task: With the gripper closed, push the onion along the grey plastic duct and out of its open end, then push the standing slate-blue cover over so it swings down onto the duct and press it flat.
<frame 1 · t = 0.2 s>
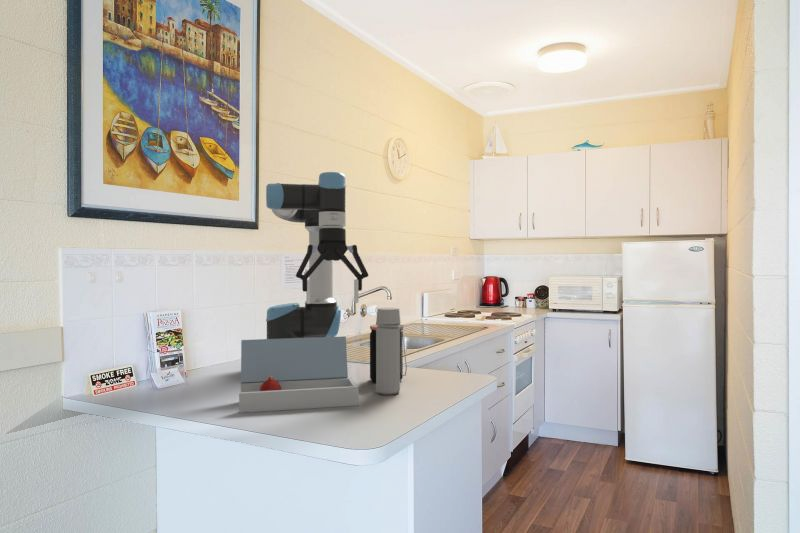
hand: (332, 303, 157), 27 cm above the countertop, fingers open, 13 cm apart
water bottle: (391, 393, 166), on the countertop
onion: (270, 405, 151), resting in duct
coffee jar: (386, 381, 182), on the countertop
duct: (296, 403, 153), on the countertop
duct cover: (295, 360, 161), point 10 cm above the countertop, hinge at -20.0°
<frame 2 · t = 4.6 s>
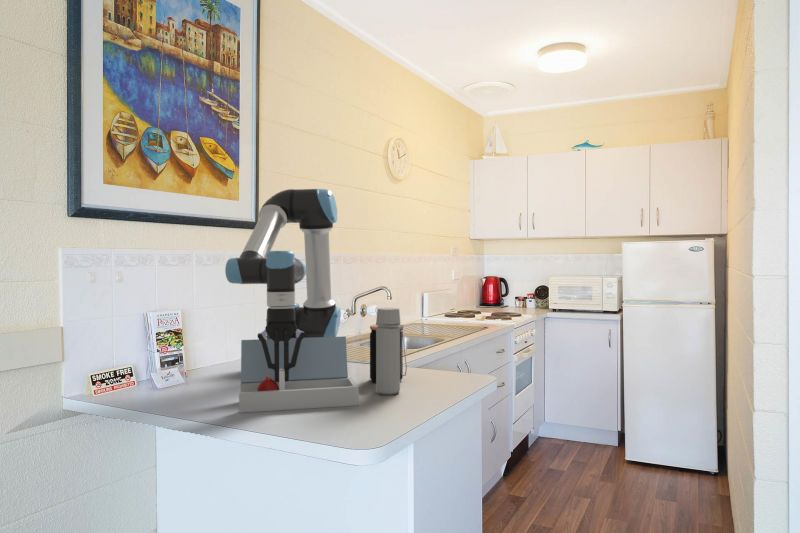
hand: (281, 393, 152), 3 cm above the countertop, fingers closed
onion: (268, 405, 151), resting in duct, touching gripper
everything else where it was.
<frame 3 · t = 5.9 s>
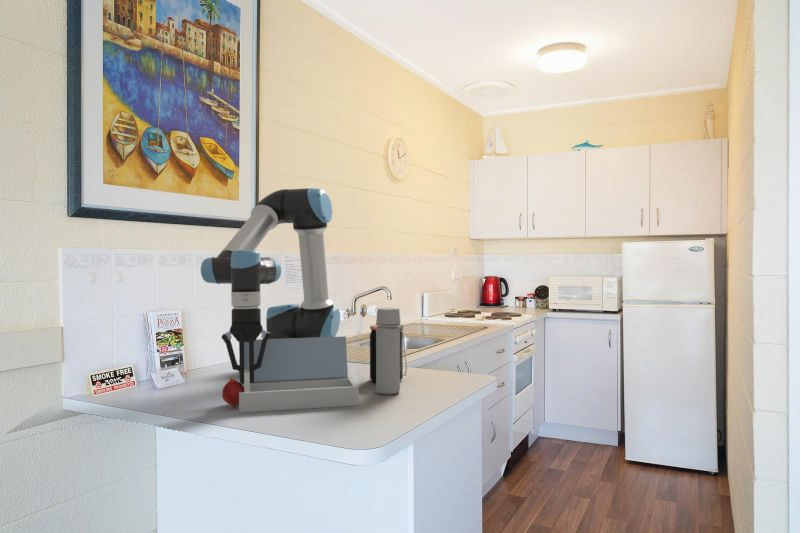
hand: (247, 395, 150), 3 cm above the countertop, fingers closed
onion: (235, 407, 149), on the countertop, touching gripper
everything else where it was.
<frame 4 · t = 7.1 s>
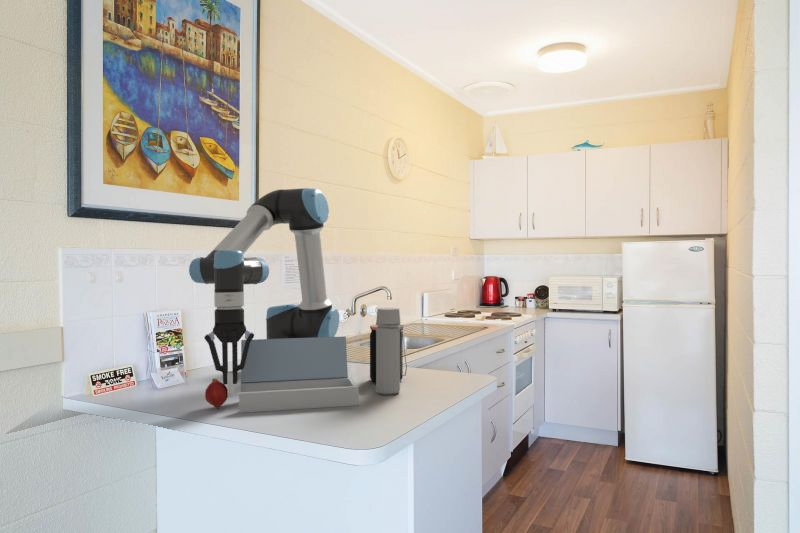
hand: (230, 396, 149), 3 cm above the countertop, fingers closed
onion: (218, 408, 148), on the countertop, touching gripper
everything else where it was.
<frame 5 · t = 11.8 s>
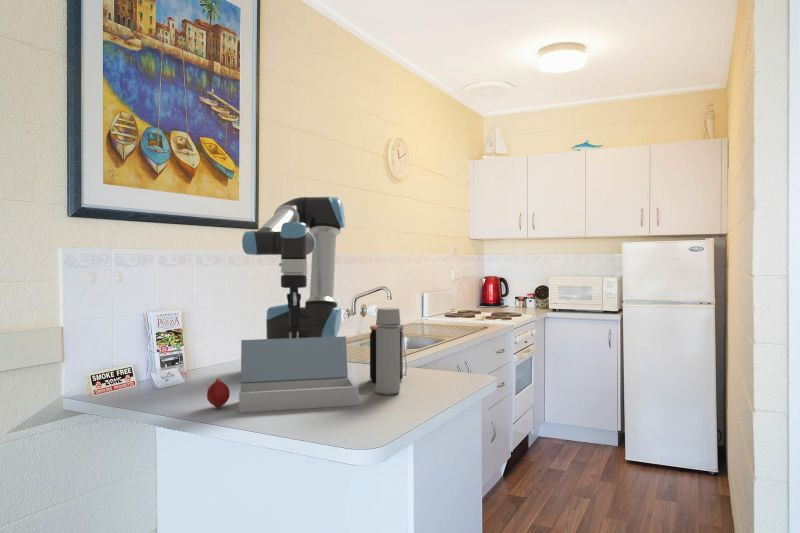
hand: (293, 353, 166), 12 cm above the countertop, fingers closed
onion: (218, 408, 148), on the countertop
duct cover: (295, 360, 161), point 10 cm above the countertop, hinge at -20.0°, touching gripper
everything else where it was.
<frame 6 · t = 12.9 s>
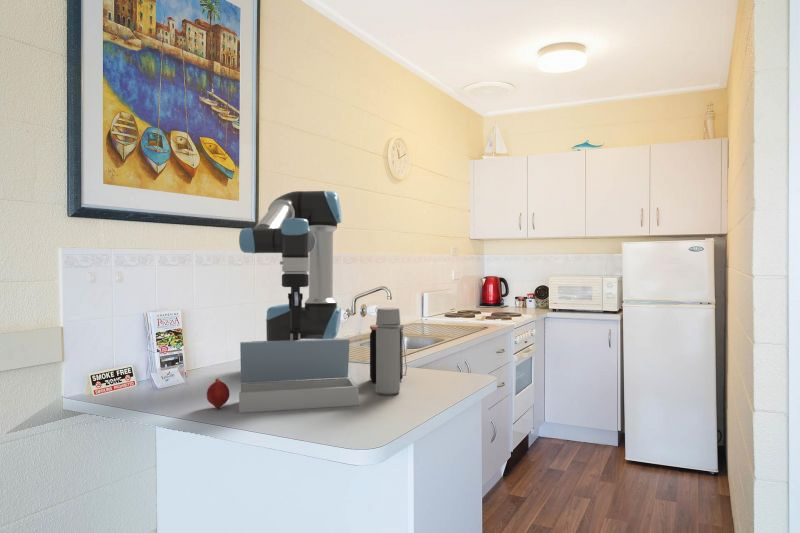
hand: (295, 356, 158), 12 cm above the countertop, fingers closed
duct cover: (295, 360, 158), point 11 cm above the countertop, hinge at 17.6°, touching gripper
everything else where it was.
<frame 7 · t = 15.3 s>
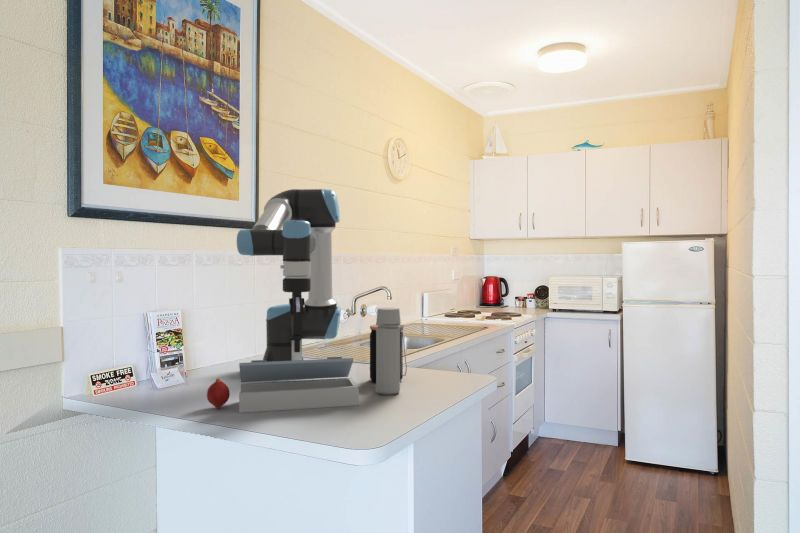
hand: (296, 363, 152), 11 cm above the countertop, fingers closed
duct cover: (296, 369, 155), point 9 cm above the countertop, hinge at 57.1°, touching gripper
everything else where it was.
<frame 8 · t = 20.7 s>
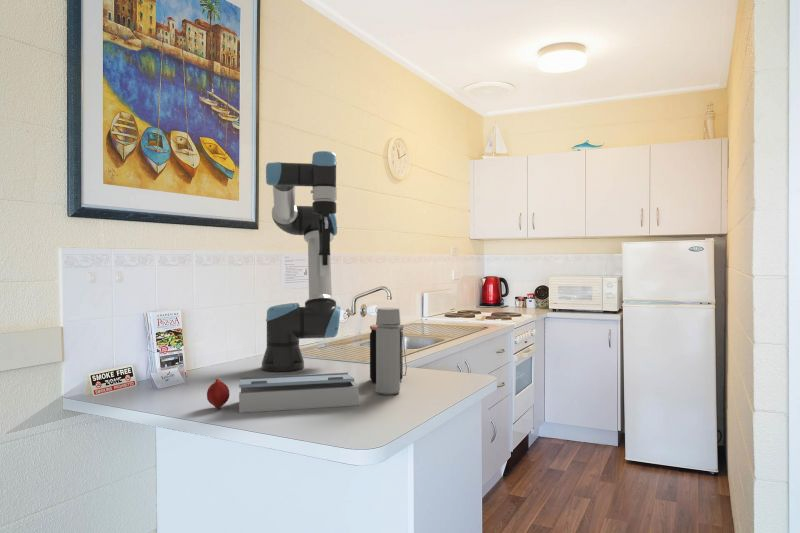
hand: (324, 275, 176), 34 cm above the countertop, fingers closed
duct cover: (296, 379, 153), point 7 cm above the countertop, hinge at 84.4°
everything else where it was.
at the end: duct cover at +84° (first picture: -20°); onion moved 13.6 cm from its start; onion touching countertop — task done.
